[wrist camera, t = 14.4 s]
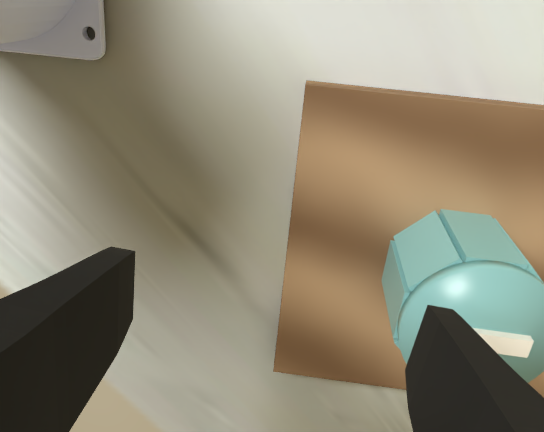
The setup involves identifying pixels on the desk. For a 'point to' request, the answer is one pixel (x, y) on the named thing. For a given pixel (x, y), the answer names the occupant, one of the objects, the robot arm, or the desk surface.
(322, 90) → the post fixture
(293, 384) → the desk surface
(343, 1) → the desk surface
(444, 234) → the cap
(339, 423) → the desk surface
